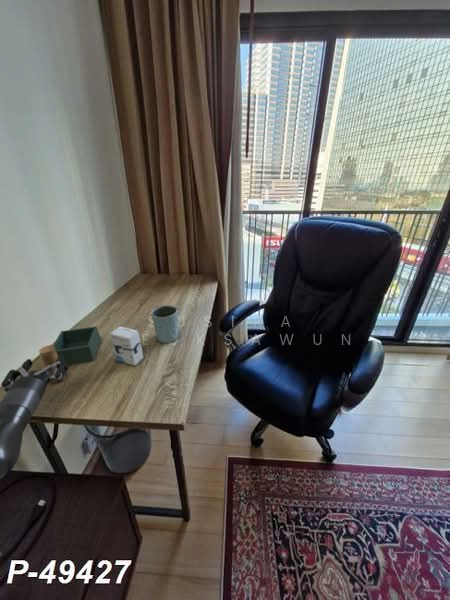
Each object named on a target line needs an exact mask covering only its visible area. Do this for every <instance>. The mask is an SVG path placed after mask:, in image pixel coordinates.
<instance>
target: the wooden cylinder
mask: <svg viewBox="0 0 450 600" xmlns="http://www.w3.org/2000/svg"><path fill="white" fill-rule="evenodd" d="M53 345H54V344H48V345H45V346H43V347H41V348H40V349H39V350H38V352H39V355H40V357H41V360H42V362H43V364H44V368H45V367H47V366H48V365H52V364H54V363H55V362H56V360H57V358H58V355H57V352H56V350H55V347H54V346H53ZM56 368H57V367H55V368H54V370H55V369H56ZM47 372H48V374H50V372H49V370H48V371H47ZM66 377H67V376H66V374H65V376H64V378H63V380H62V381H61V382H63V381H64V380H65V379H66ZM51 383H53V384H59V383H58V382H57V380H55V381H51Z"/></svg>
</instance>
